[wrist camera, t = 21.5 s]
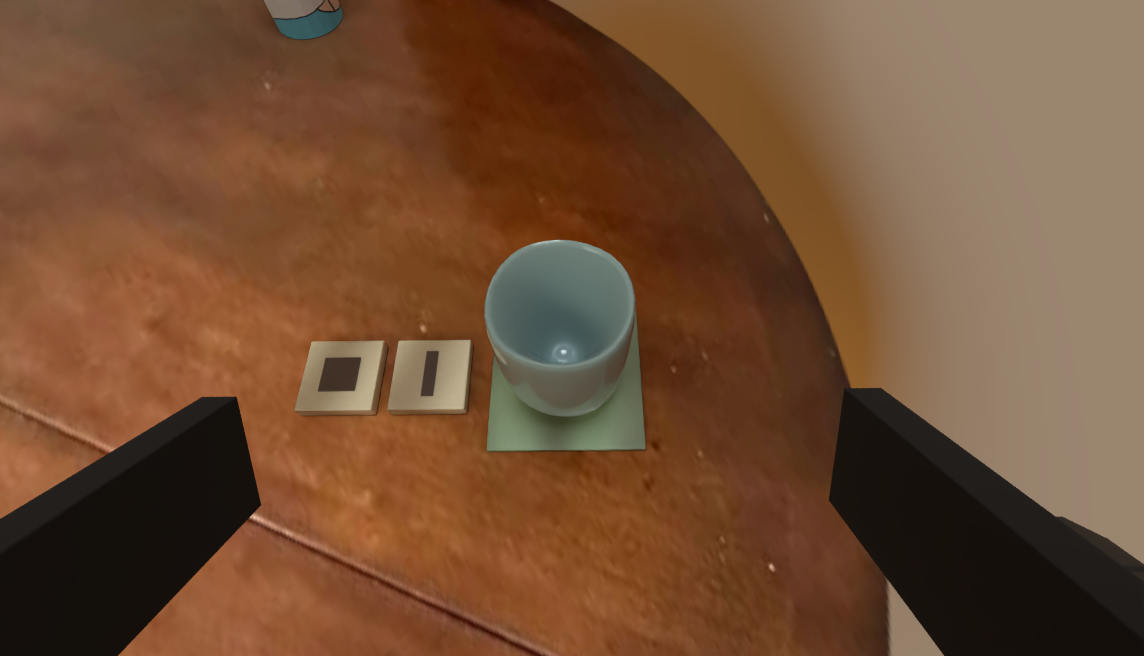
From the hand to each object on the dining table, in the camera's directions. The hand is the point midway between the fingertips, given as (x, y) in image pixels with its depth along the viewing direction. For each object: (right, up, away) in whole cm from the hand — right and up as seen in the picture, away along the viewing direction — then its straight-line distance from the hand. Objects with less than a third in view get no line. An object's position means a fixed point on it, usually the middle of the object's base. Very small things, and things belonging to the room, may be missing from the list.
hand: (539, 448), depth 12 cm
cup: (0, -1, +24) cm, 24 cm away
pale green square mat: (-6, -1, +24) cm, 25 cm away
